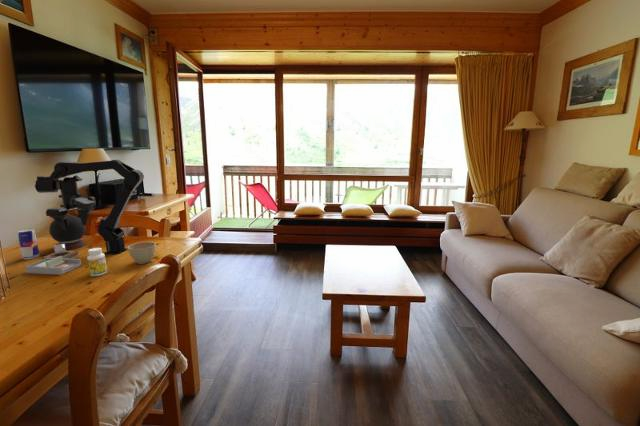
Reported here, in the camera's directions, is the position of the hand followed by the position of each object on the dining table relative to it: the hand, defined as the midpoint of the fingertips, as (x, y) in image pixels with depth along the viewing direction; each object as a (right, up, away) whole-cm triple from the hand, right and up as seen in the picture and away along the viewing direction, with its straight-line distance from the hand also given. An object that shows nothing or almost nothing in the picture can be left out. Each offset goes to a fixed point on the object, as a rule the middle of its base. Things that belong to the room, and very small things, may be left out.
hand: (75, 227), depth 132 cm
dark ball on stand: (-12, -10, +13) cm, 20 cm away
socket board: (-3, -13, -4) cm, 14 cm away
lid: (0, -14, -13) cm, 19 cm away
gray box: (+2, -15, -13) cm, 20 cm away
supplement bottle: (+22, -17, -17) cm, 32 cm away
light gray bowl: (+32, -14, -5) cm, 36 cm away
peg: (-3, -12, -4) cm, 13 cm away
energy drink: (-18, -13, -2) cm, 22 cm away
